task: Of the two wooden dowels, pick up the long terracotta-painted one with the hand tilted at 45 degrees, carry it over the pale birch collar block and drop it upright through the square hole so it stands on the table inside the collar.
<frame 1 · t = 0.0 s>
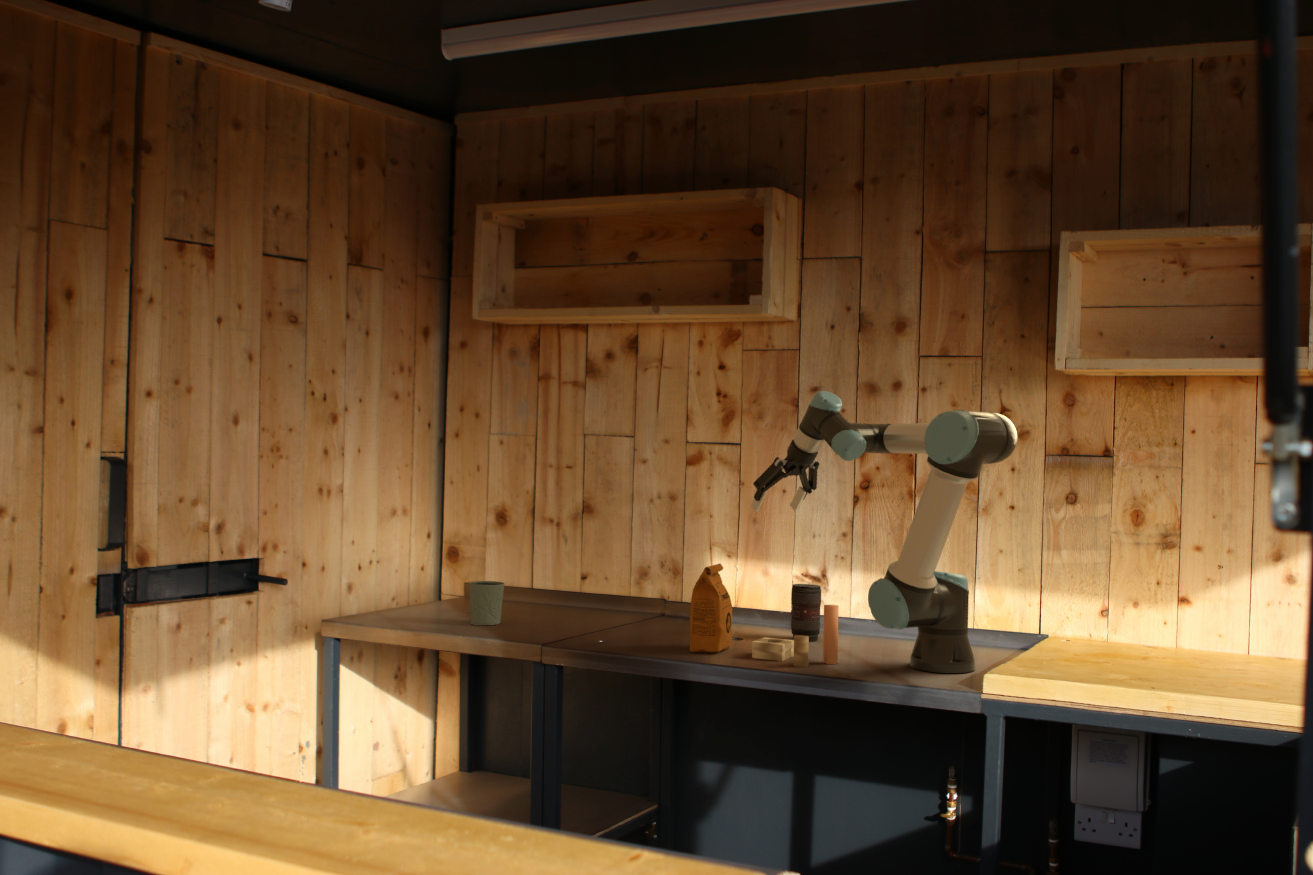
hand: (773, 508, 301), 36 cm above the table, tool tilted 35°, fingers open, 13 cm apart
camera lens: (805, 640, 305), on the table
short dowel: (800, 665, 267), on the table
long dowel: (830, 663, 271), on the table
collar block: (772, 656, 278), on the table
coffee package: (711, 651, 286), on the table
green plant pot: (486, 624, 324), on the table
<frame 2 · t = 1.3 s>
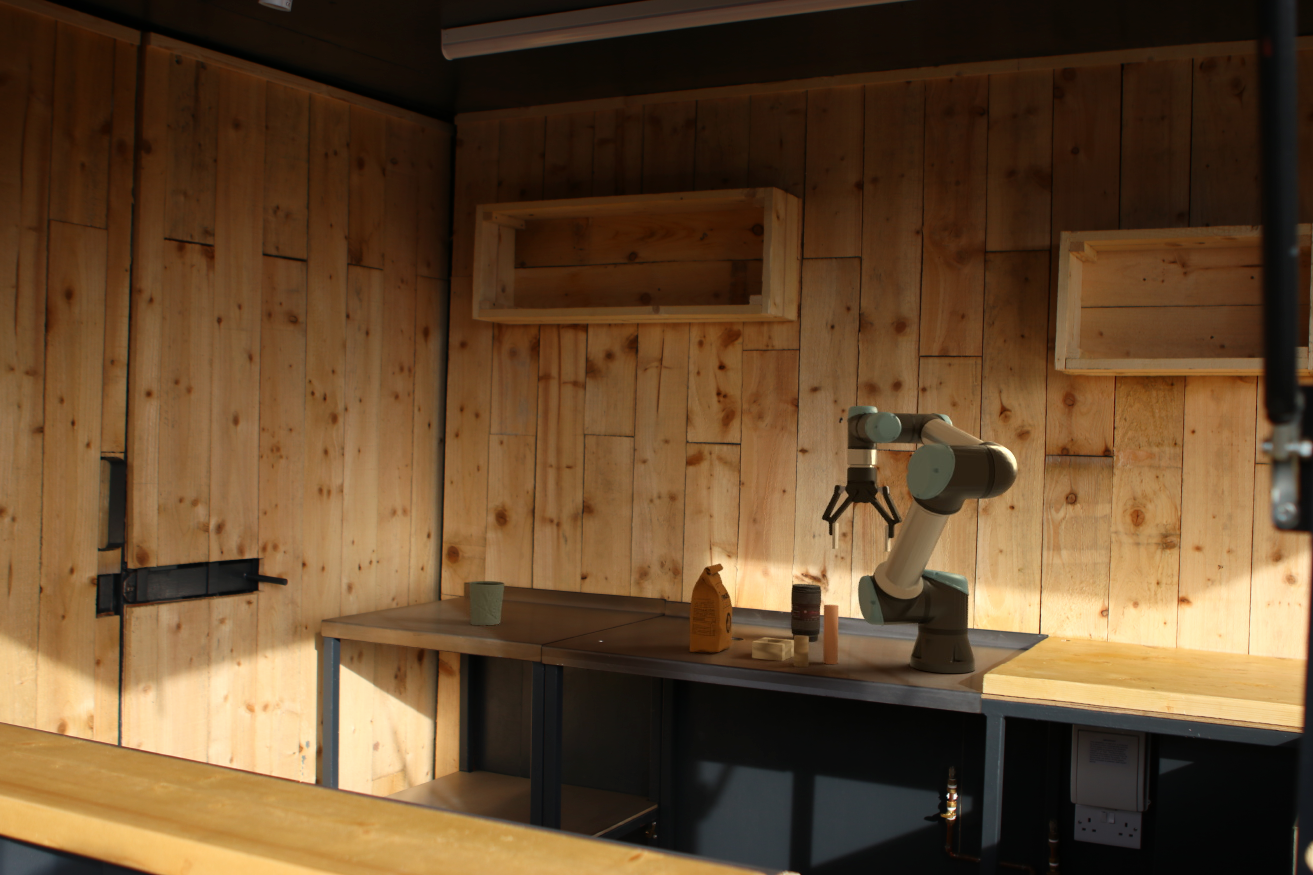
hand: (861, 550, 284), 27 cm above the table, tool pointing down, fingers open, 13 cm apart
nothing on the table moved.
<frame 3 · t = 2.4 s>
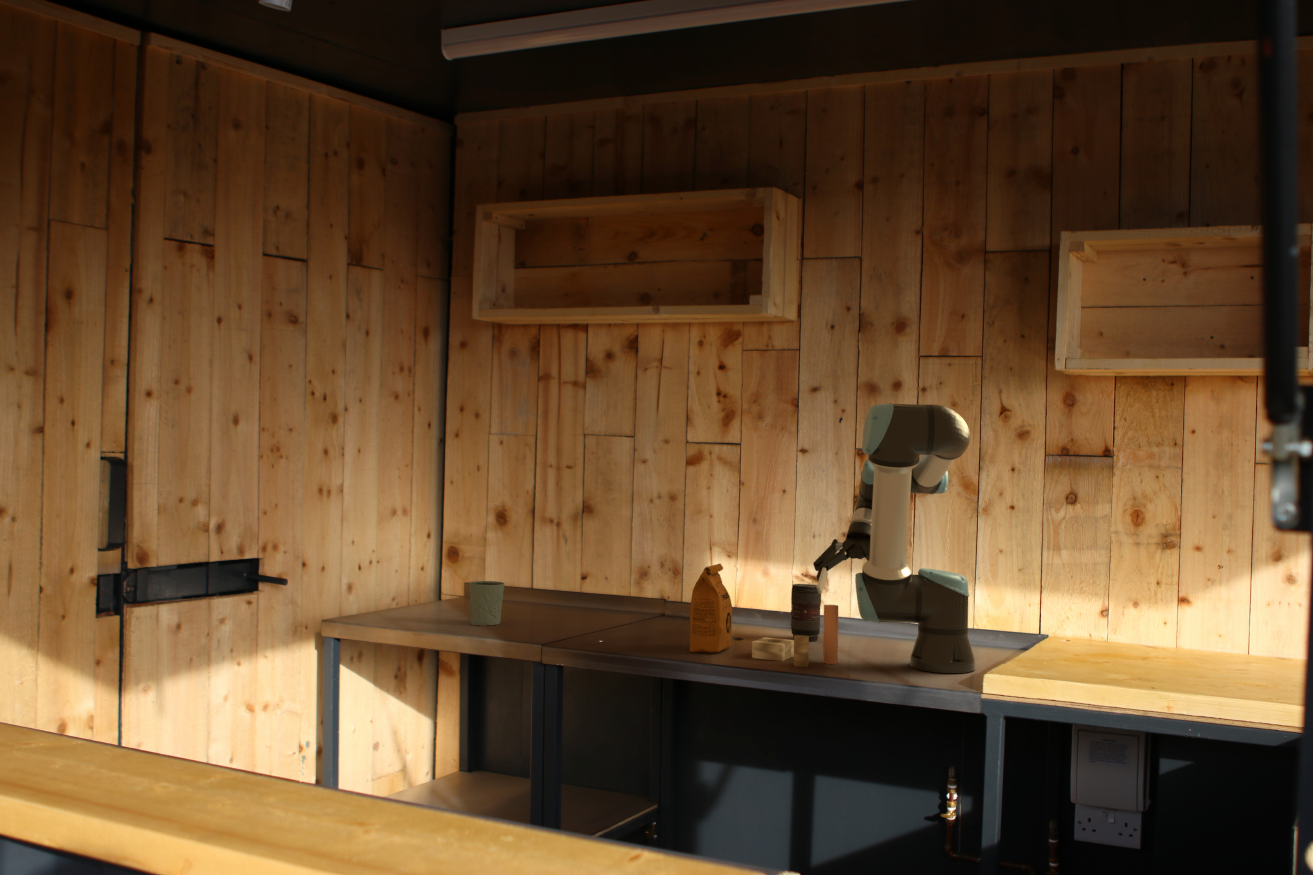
hand: (844, 592, 281), 16 cm above the table, tool tilted 45°, fingers open, 13 cm apart
nothing on the table moved.
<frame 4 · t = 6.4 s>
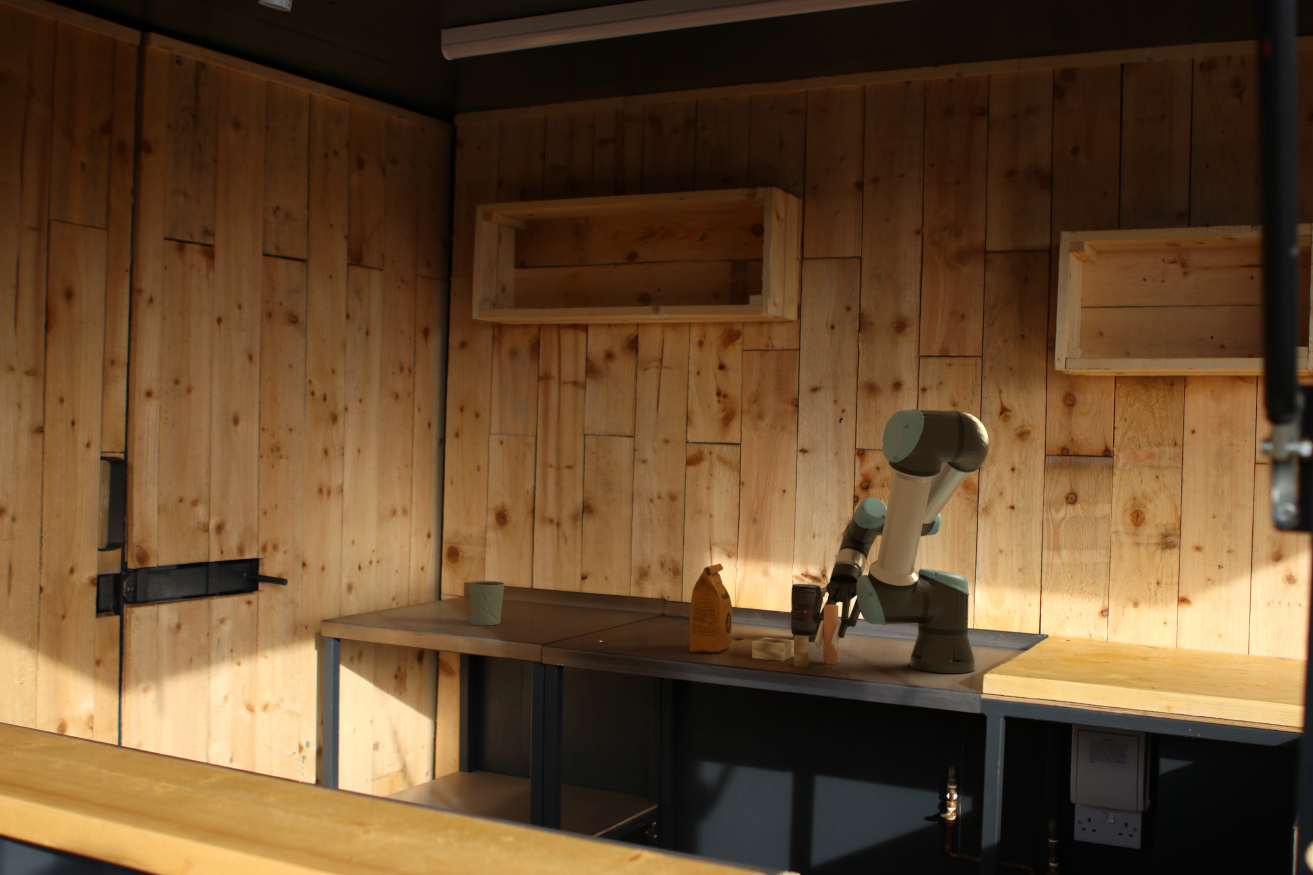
hand: (825, 646, 268), 5 cm above the table, tool tilted 45°, fingers closed on long dowel, 3 cm apart
long dowel: (830, 663, 271), on the table, touching gripper
everything else where it was.
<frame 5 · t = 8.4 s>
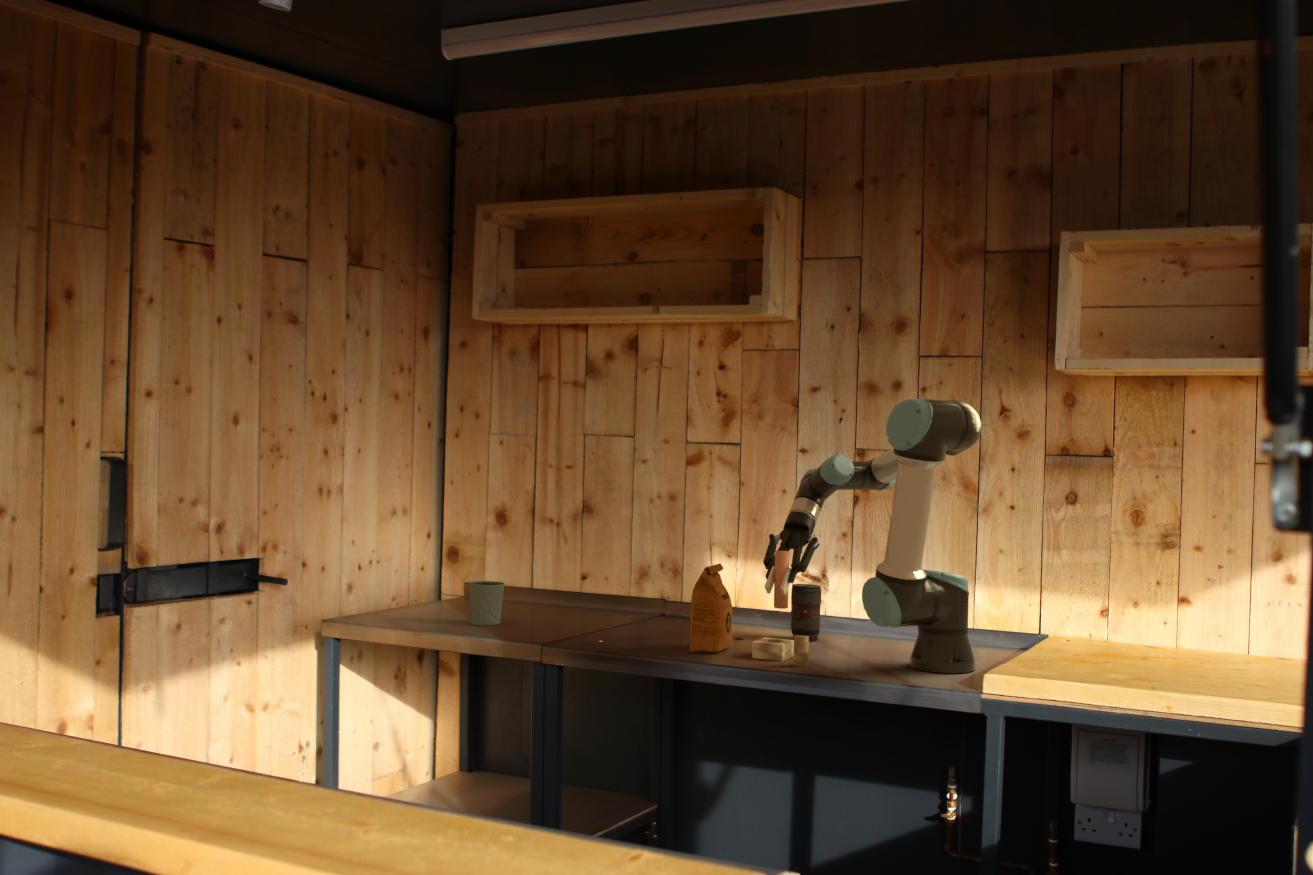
hand: (775, 590, 276), 17 cm above the table, tool tilted 45°, fingers closed on long dowel, 3 cm apart
long dowel: (780, 607, 279), point 12 cm above the table, touching gripper
everything else where it was.
when the fingers open (7 cm above the table, at t = 10.6 s): long dowel drops 2 cm, resting in collar block.
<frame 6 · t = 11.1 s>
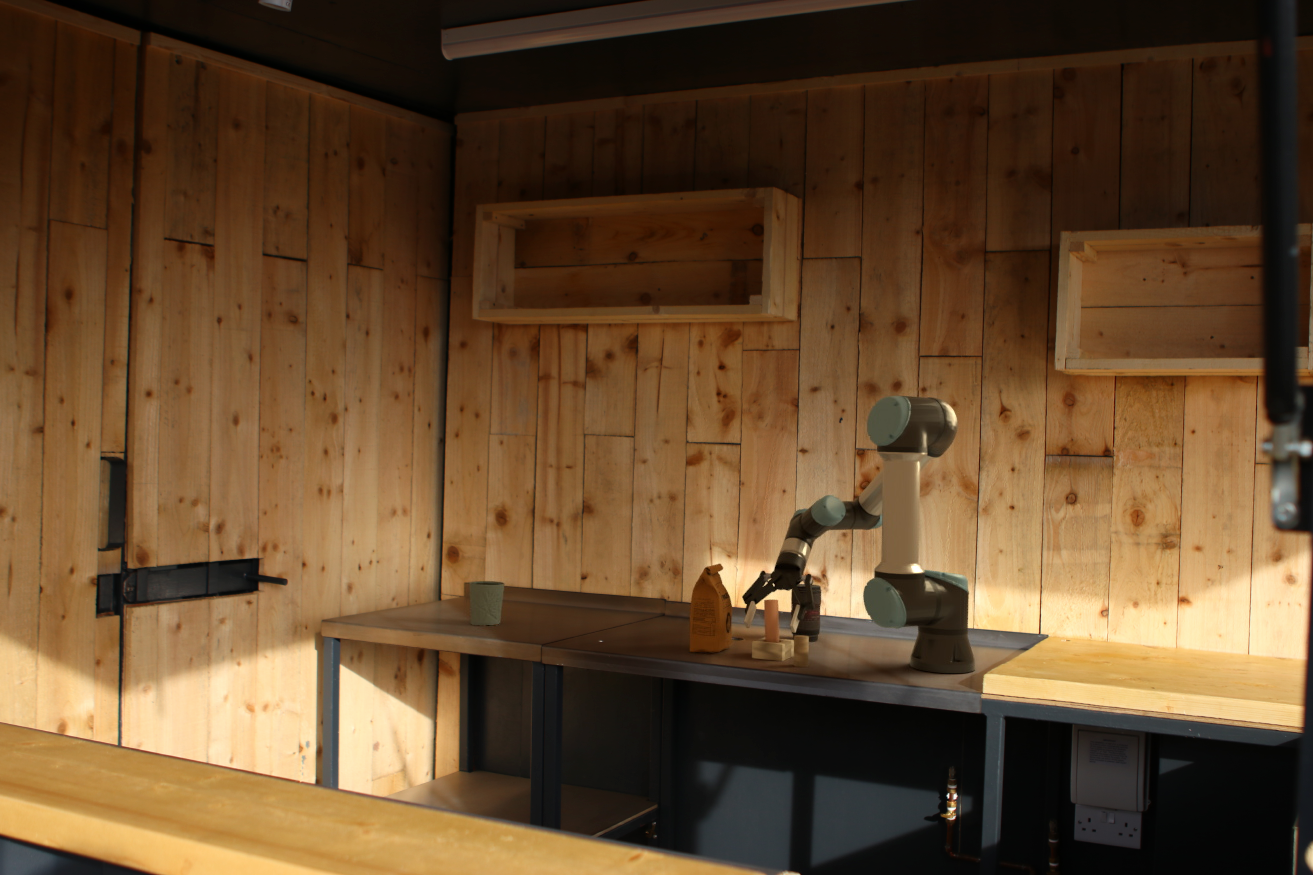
hand: (769, 627, 276), 8 cm above the table, tool tilted 45°, fingers open, 11 cm apart
long dowel: (772, 656, 278), resting in collar block
everything else where it was.
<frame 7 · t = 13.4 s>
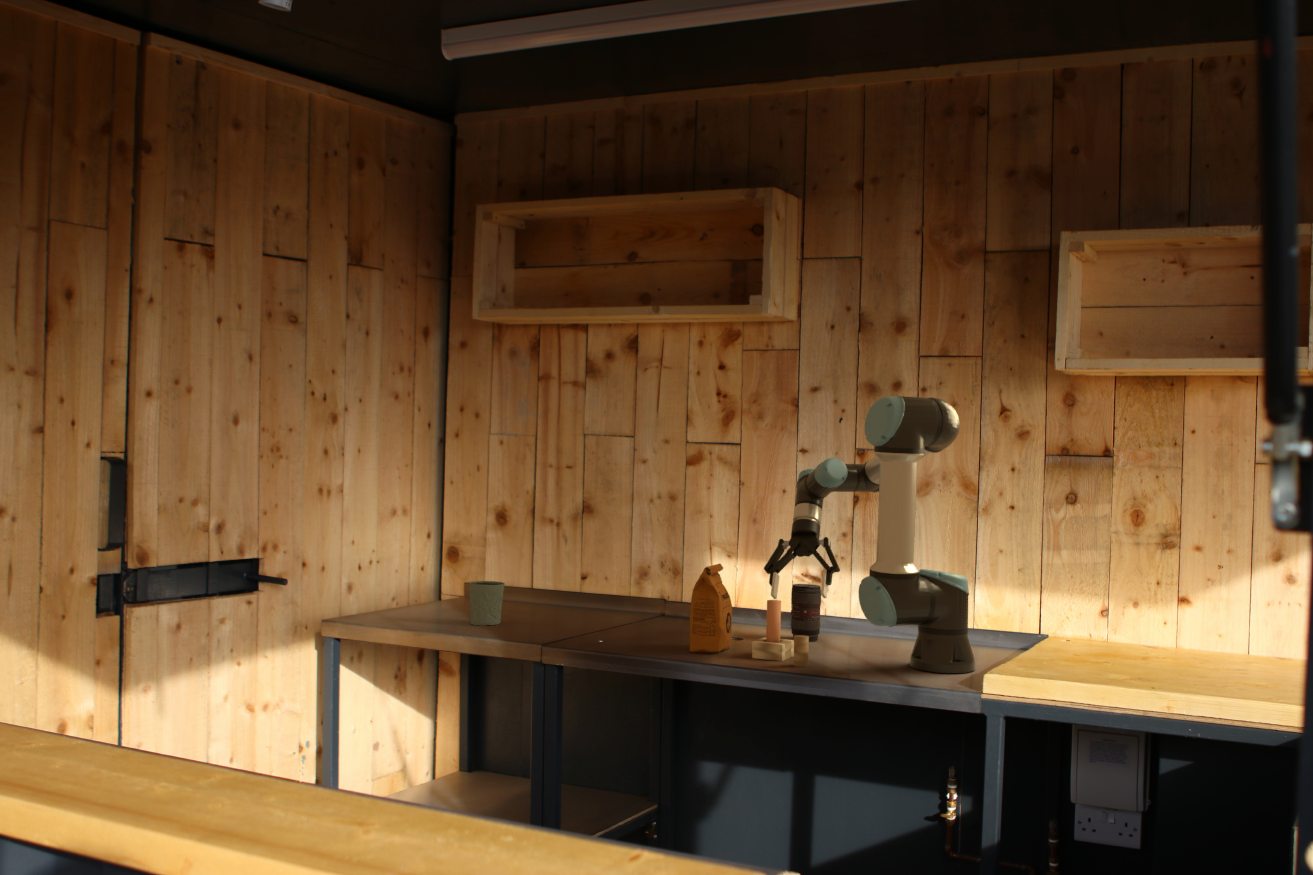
hand: (798, 596, 289), 14 cm above the table, tool tilted 30°, fingers open, 13 cm apart
nothing on the table moved.
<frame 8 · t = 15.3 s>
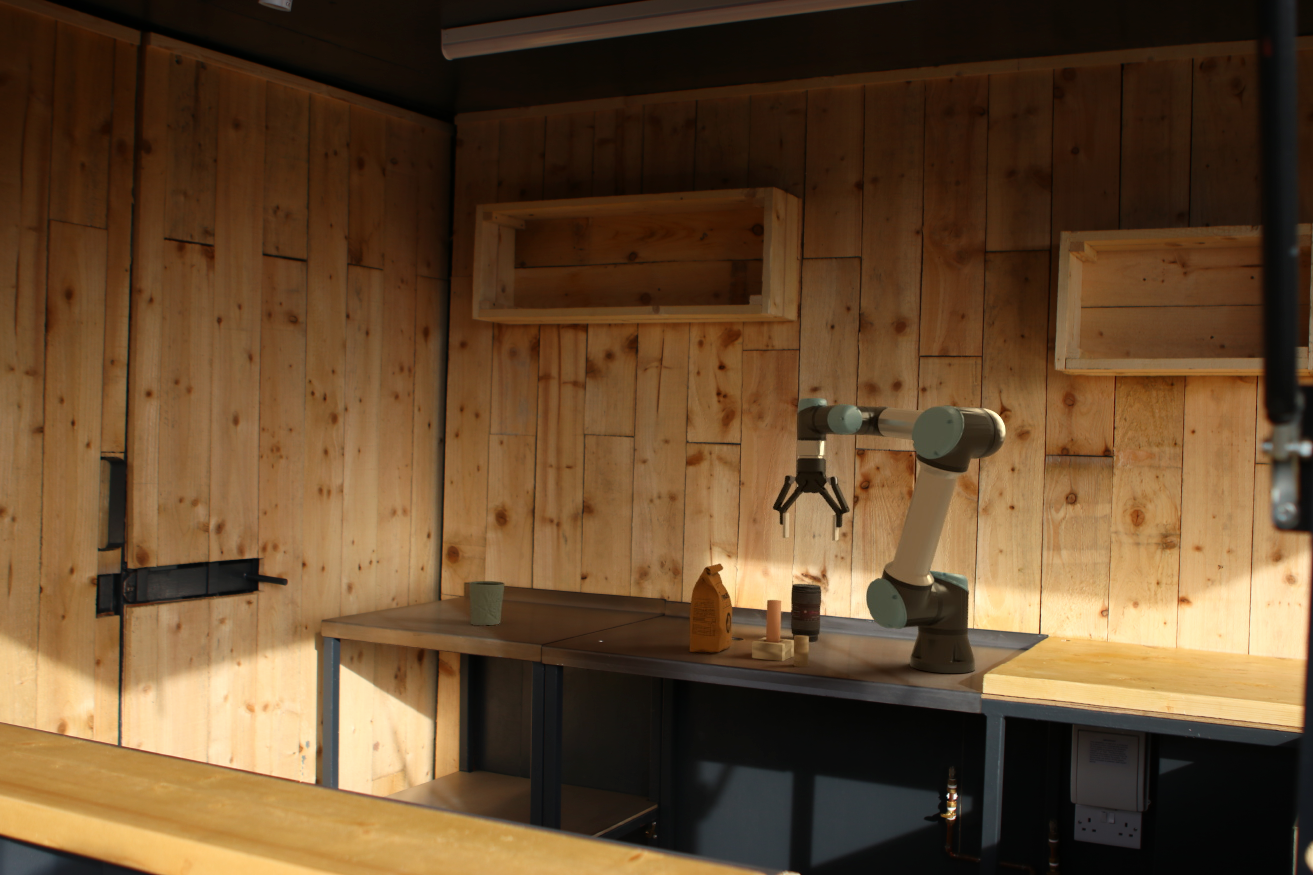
hand: (810, 539, 290), 29 cm above the table, tool pointing down, fingers open, 13 cm apart
nothing on the table moved.
at the end: long dowel 0.1 cm off-centre on the collar block, point 0.0 cm above the collar block's base; long dowel tilted 1°; the gripper is holding nothing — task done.
